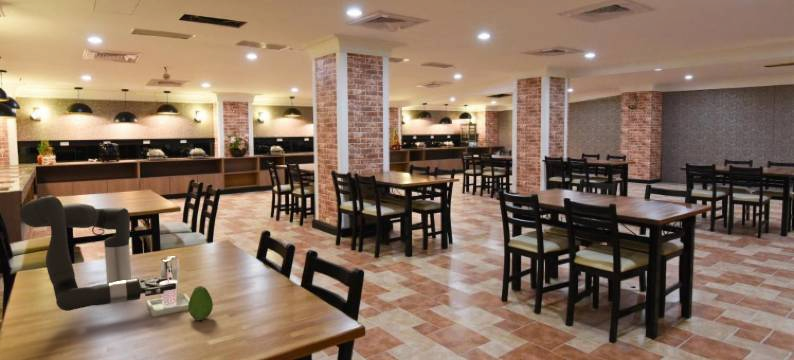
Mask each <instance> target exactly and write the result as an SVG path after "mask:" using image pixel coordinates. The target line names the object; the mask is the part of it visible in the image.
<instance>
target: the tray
mask: <svg viewBox="0 0 794 360" xmlns="http://www.w3.org/2000/svg"><path fill="white" fill-rule="evenodd" d="M190 298H191V297H189V295H188V294H187V293H182V294H179V295H176V306H174V307H169V308H164V307H163V304H162V297H159V298H154V299H153V298H152V299H149V300H148V299H146V300H145V301H146V307H147V310H148V311H149V313H150V315H151V318H155V317H156V318H157V317H159V316H160V317H161V316H165V315H171V314H177V313H179V312H180V313H181V312H185V311H189V310H188V304H189V301H190Z"/></svg>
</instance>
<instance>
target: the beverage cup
mask: <svg viewBox="0 0 794 360" xmlns="http://www.w3.org/2000/svg"><path fill="white" fill-rule="evenodd" d="M167 279H168V280H166V281H162V282H160V283H159V284H160V285H165V284H171V283H175V284H176V289H173V290H167V291H165V292H164V293H163V294H160V295H161V298H162V304H163V307H164V308H169V307H174V306H176V294H177V280H169V271H168V269H167Z"/></svg>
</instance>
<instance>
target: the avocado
mask: <svg viewBox="0 0 794 360" xmlns="http://www.w3.org/2000/svg"><path fill="white" fill-rule="evenodd" d="M189 298H190V301H189V304H188V310H187V311H188V313H189V314H190V315H189V316H191V317H192V318H193V319H194V320H197V321H202V320H205V319H207V318H208V317H209V316H210V315H211V313H212V311H213V307H214V304H213V303H214V302H213V299H212V296H211V295H210V292H209V291H208V289H207V288H206V287H204V286H202V285H198V286H195V288H194V289H193V291H192V292H191V296H190V297H189Z"/></svg>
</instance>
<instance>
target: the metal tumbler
mask: <svg viewBox="0 0 794 360" xmlns="http://www.w3.org/2000/svg"><path fill="white" fill-rule="evenodd" d="M159 263H160V266H159V267H160V268H159V269H160V276H161V279H162V278H167V269H168V271H169V277H171V278H172V280H177V294H176V295H181V294H180V293H181V292H180V289H179V279H180V270H181V269H180V260H179V257H178V256H174V255H173V256H166V257H165V256H164V257H162V258H160V262H159Z"/></svg>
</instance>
